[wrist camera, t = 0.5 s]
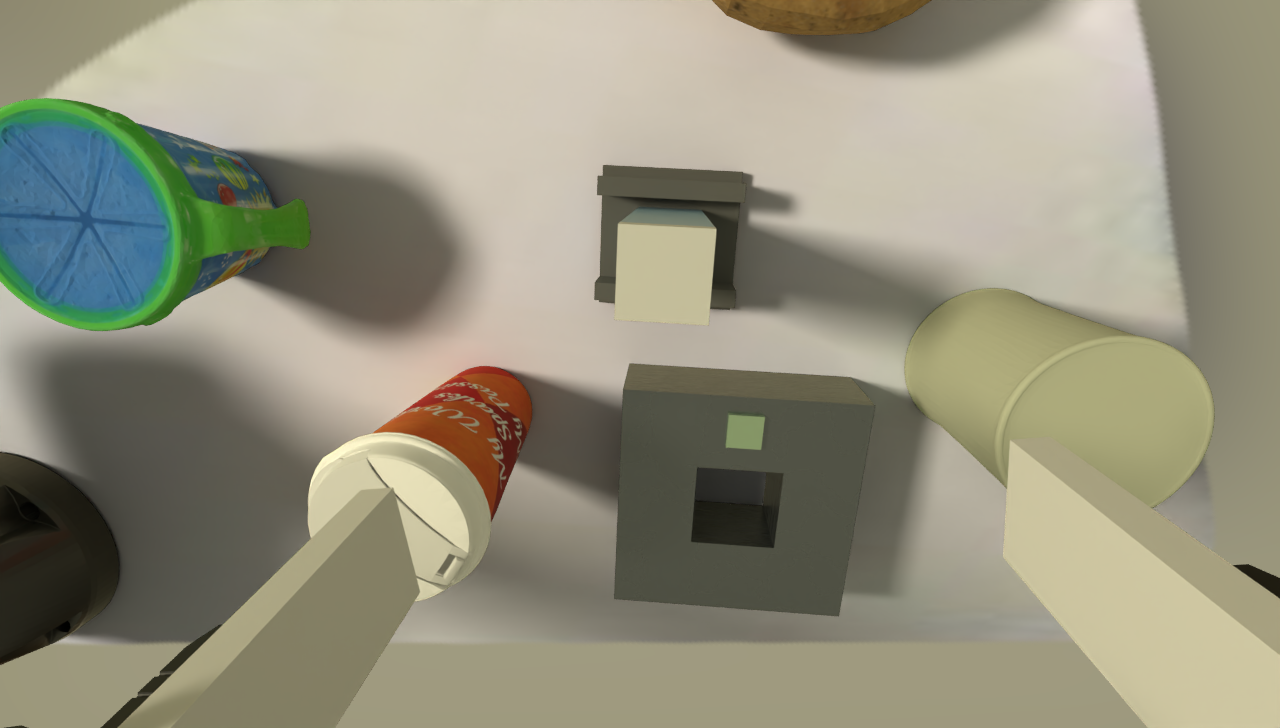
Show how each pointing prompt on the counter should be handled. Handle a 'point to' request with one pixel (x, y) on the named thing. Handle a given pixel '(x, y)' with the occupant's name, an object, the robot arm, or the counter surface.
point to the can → (1060, 390)
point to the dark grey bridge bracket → (671, 190)
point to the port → (739, 533)
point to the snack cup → (125, 215)
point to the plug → (665, 266)
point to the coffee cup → (436, 471)
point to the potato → (819, 14)
